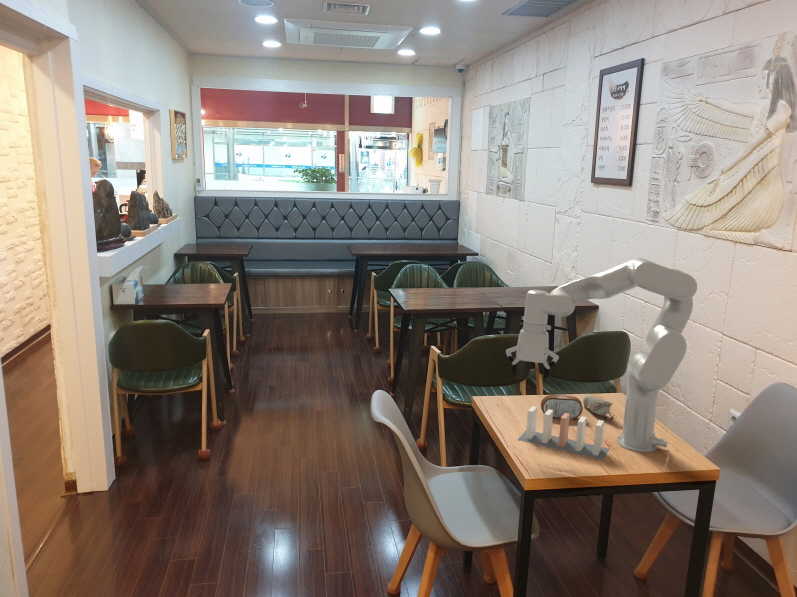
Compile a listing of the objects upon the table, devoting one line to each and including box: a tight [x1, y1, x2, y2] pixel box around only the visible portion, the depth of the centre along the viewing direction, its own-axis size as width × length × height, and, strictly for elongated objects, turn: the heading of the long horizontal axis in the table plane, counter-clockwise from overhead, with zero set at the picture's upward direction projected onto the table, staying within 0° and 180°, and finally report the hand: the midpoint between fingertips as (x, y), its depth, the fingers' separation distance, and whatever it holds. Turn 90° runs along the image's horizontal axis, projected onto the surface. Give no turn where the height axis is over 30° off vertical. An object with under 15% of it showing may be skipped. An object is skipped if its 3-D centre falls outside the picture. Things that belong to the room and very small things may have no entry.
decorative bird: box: [582, 394, 614, 421], centre depth 226 cm, size 5×16×8 cm, turn 17°
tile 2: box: [542, 409, 554, 444], centre depth 200 cm, size 2×5×10 cm, turn 150°
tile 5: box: [593, 419, 605, 456], centre depth 192 cm, size 2×5×10 cm, turn 150°
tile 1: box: [526, 405, 538, 440], centre depth 203 cm, size 2×5×10 cm, turn 150°
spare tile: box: [558, 413, 570, 447], centre depth 198 cm, size 2×5×10 cm, turn 150°
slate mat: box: [517, 429, 610, 461], centre depth 199 cm, size 28×10×1 cm, turn 60°
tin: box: [540, 394, 584, 420], centre depth 222 cm, size 15×3×8 cm, turn 84°
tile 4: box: [575, 416, 588, 452], centre depth 195 cm, size 2×5×10 cm, turn 150°
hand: (529, 377), depth 200 cm, fingers open, 9 cm apart
